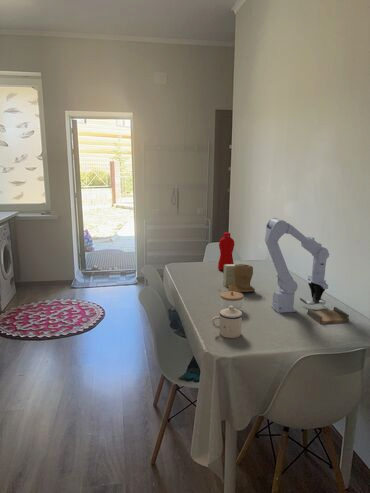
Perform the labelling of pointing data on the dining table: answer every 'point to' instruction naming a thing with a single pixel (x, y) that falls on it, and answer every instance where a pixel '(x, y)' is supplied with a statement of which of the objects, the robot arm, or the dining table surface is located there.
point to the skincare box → (228, 275)
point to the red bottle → (225, 251)
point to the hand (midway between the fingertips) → (316, 298)
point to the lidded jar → (231, 299)
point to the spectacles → (313, 301)
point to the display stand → (329, 316)
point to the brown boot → (242, 278)
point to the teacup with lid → (229, 322)
